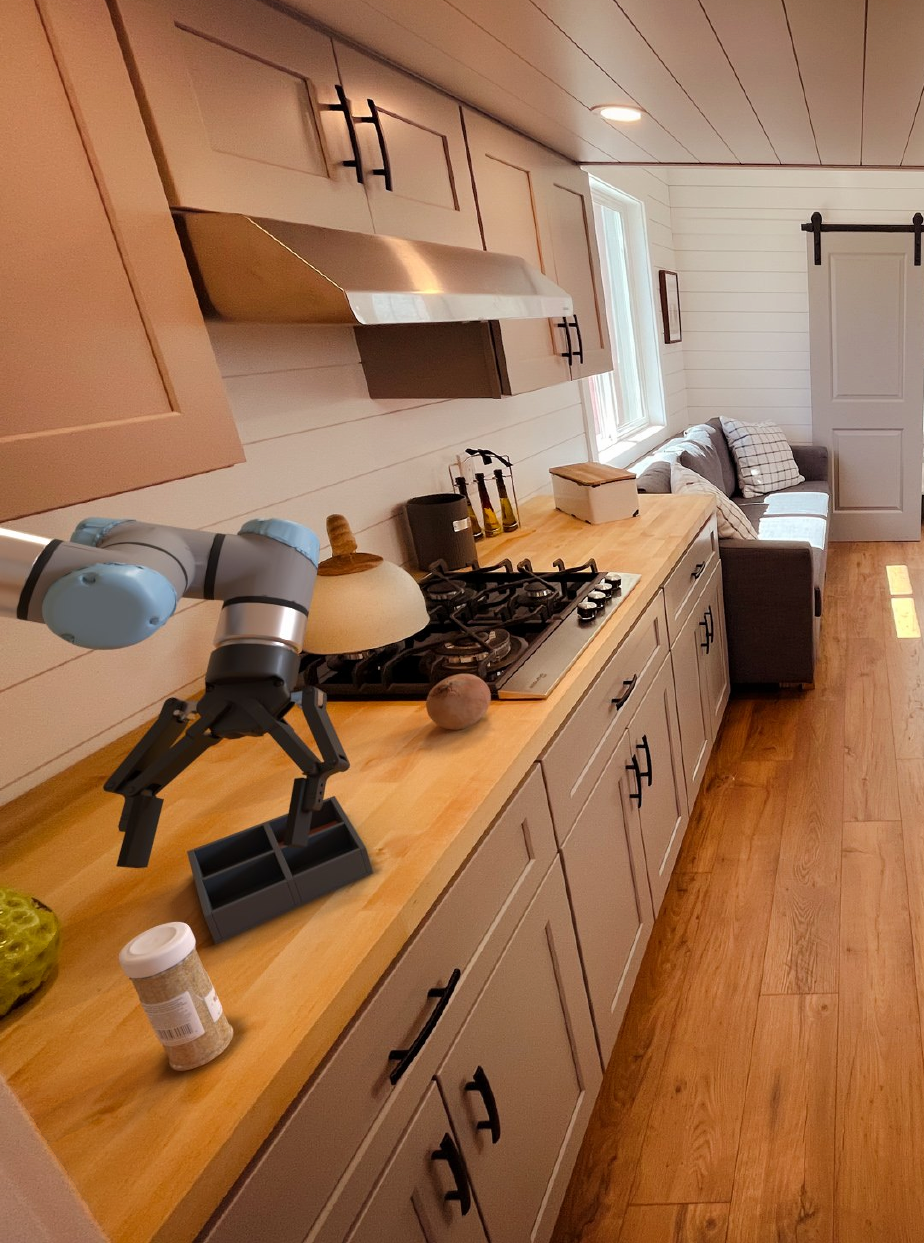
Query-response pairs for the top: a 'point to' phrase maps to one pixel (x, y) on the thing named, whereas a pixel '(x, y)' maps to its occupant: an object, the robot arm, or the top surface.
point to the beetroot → (458, 701)
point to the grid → (275, 870)
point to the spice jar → (177, 994)
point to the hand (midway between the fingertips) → (215, 856)
